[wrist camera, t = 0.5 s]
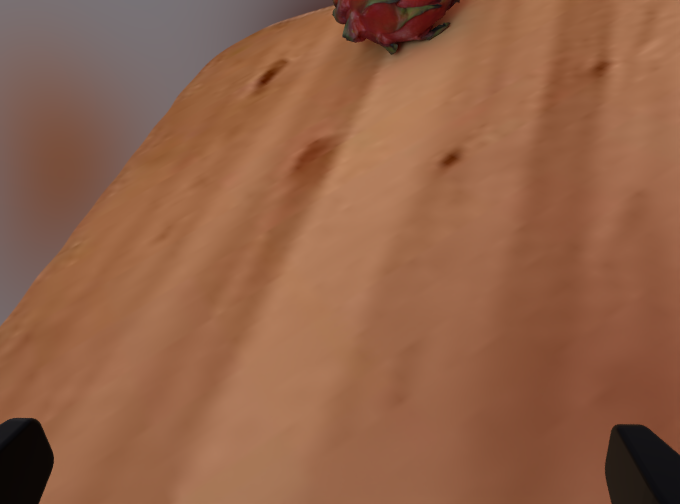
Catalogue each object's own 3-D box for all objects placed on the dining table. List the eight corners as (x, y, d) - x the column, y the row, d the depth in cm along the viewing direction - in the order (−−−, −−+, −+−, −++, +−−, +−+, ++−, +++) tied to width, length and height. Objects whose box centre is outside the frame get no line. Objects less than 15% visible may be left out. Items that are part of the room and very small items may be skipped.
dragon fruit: (350, 68, 56) (478, 47, 52) (320, 59, 49) (468, 34, 45) (340, -26, 55) (471, -55, 51) (307, -51, 47) (459, -87, 43)
